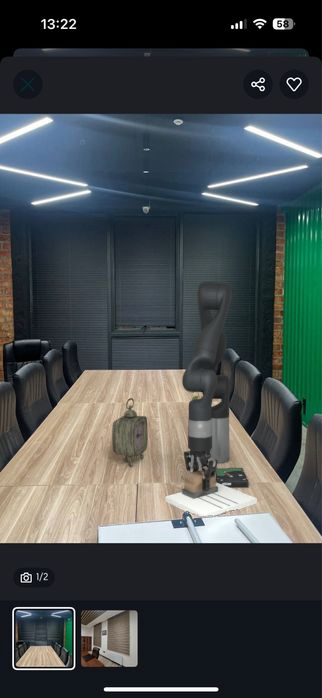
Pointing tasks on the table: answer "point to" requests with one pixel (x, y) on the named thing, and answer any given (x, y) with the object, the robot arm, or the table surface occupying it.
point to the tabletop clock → (130, 434)
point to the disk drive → (232, 477)
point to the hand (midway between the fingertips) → (200, 487)
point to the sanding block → (197, 485)
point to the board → (212, 501)
